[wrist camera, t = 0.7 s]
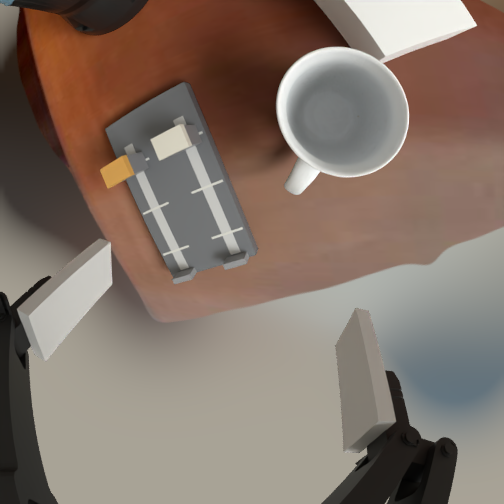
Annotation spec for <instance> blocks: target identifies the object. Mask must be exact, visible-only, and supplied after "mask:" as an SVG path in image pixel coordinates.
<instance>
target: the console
mask: <svg viewBox="0 0 504 504" xmlns="http://www.w3.org/2000/svg"><path fill="white" fill-rule="evenodd" d="M179 124H184V125H196V128H197V130H198V133H199V135H200V137H201V140H202V143H200V144H198V145H196V146H193V147H191V148H189V149H187V150H185V151H183V152H181V153H178V154H176V155H172V156H169V157H167V158H165V159H163V160H160V161H159V159H158V157H157V154H156V152H155V149H154V147H153V145H152V142H151V139H152V138H154V137H156V136H158V135H160V134H162V133H164V132H165V131H167V130H169V129H171V128H173V127H175V126H177V125H179ZM105 130H106V133H107V135H108V138H109V140H110V143H111V145H112V148H113V150H114V153H115V155H116V158H117V159H118V158H119V157H121V156H124V155H127V156H128V155H131V154H135V153H139V152H143V155H144V157H145V160H146V162H147V164H148V167H149V168H148V169H146V170H144V171H143V172H141V173H139V174H137V175H135V176H133V177H131V178H130V179H127V180H126V181H127V183H128V186H129V188H130V190H131V193H132V195H133V197H134V199H135V201H136V204H137V206H138V208H139V210H140V212H141V214H142V216H143V218H144V221H145V223H146V225H147V227H148V229H149V231H150V233H151V235H152V237H153V239H154V241H155V243H156V245H157V247H158V249H159V251H160V253H161V255H162V257H163V259H164V261H165V263H166V265H167V267H168V268H169V270H170V272H171V274H172V276H173V279H172V280H173V282H174V284H177V283H181V282H184V281H188V280H191V279H193V277H194V276H195V274H196V273H197V272H199V271H203V270H206V269H209V268H213V267H216V266H220V265H223V266H224V268H225V270H227V269H230V268H234V267H237V266H241V265H244V264H247V261H248V259H249V257H250V256H254V255H256V254H257V250H258V247H257V245H256V242H255V240H254V237H253V235H252V232H251V230H250V227H249V225H248V223H247V220H246V218H245V215H244V213H243V210H242V208H241V206H240V203H239V201H238V198H237V196H236V193H235V191H234V189H233V186H232V184H231V181H230V179H229V176H228V174H227V172H226V169H225V167H224V164H223V162H222V159H221V157H220V155H219V152H218V150H217V147H216V145H215V143H214V140H213V138H212V135H211V133H210V131H209V128H208V126H207V123H206V121H205V119H204V116H203V114H202V111H201V109H200V107H199V104H198V102H197V100H196V97H195V95H194V92H193V90H192V88H191V85H190V84H189V83H186V82H183V83H181V84H179V85H177V86H175V87H173V88H171V89H169V90H168V91H166V92H164V93H162V94H160V95H158V96H157V97H155V98H153V99H151V100H150V101H148V102H146V103H145V104H143V105H141V106H140V107H138V108H136V109H135V110H133V111H132V112H130V113H128V114H127V115H125V116H124V117H122V118H121V119H119V120H118V121H116V122H115V123H113V124H112V125H110V126H109V127H107V128H106V129H105Z"/></svg>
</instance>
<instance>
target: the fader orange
mask: <svg viewBox="0 0 504 504" xmlns="http://www.w3.org/2000/svg"><path fill="white" fill-rule="evenodd" d="M148 168H149V167H148V164H147V162H146V160H145V157H144V155H143V152H139V153H135V154H131V155H128V156H127V155H124V156H121V157H119V158H118V159H116V160H115V161H113V162H111V163H110V164H108V165H107V166H105V167H104V168H102V169H100V171H101V174H102V176H103V179H104V181H105V183H106V186H107V188H111V187H113V186H115V185H116V184H118V183H120V182H123V181H125V180H127V179H130V178H131V177H133V176H135V175H137V174H139V173H141V172H143V171H144V170H146V169H148Z"/></svg>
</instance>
